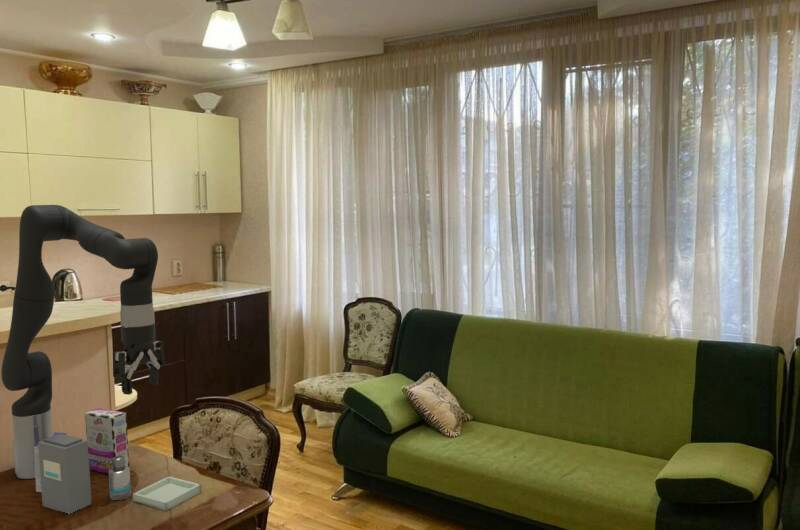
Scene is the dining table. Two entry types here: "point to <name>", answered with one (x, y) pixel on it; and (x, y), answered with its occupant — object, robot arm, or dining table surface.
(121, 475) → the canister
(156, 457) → the dining table surface
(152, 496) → the tray
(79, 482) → the gray storage container
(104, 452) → the candy bar box
